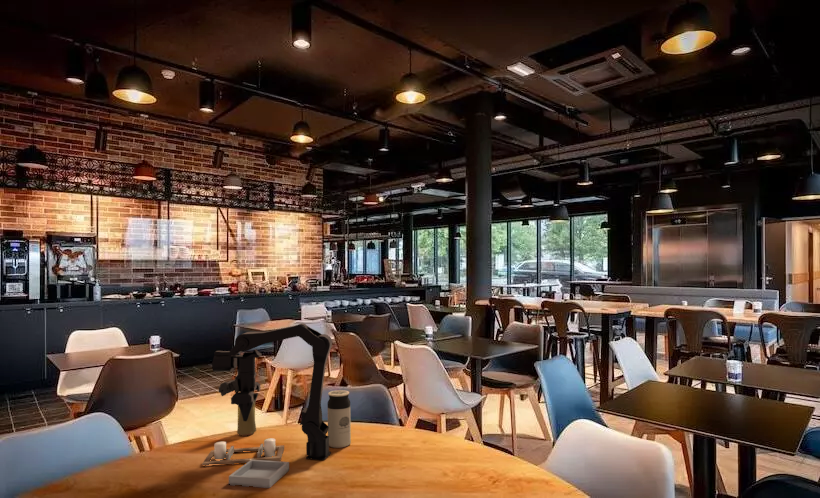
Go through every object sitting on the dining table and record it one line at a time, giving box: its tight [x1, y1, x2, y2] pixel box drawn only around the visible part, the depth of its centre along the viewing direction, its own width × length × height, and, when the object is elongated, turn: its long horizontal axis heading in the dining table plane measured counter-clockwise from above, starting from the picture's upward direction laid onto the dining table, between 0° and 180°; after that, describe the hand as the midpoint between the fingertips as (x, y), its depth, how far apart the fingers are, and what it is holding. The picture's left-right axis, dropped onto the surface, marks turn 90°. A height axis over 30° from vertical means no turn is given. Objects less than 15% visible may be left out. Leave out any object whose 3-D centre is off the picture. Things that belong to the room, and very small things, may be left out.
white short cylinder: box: [213, 441, 227, 459], centre depth 160 cm, size 4×4×5 cm
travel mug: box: [327, 389, 352, 449], centre depth 173 cm, size 8×8×18 cm
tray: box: [228, 460, 290, 489], centre depth 145 cm, size 13×13×2 cm
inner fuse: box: [263, 437, 276, 457], centre depth 163 cm, size 4×4×5 cm
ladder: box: [201, 443, 285, 465], centre depth 162 cm, size 24×12×2 cm, turn 99°
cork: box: [236, 398, 257, 435], centre depth 161 cm, size 6×6×11 cm
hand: (246, 419), depth 161 cm, fingers closed on cork, 4 cm apart
